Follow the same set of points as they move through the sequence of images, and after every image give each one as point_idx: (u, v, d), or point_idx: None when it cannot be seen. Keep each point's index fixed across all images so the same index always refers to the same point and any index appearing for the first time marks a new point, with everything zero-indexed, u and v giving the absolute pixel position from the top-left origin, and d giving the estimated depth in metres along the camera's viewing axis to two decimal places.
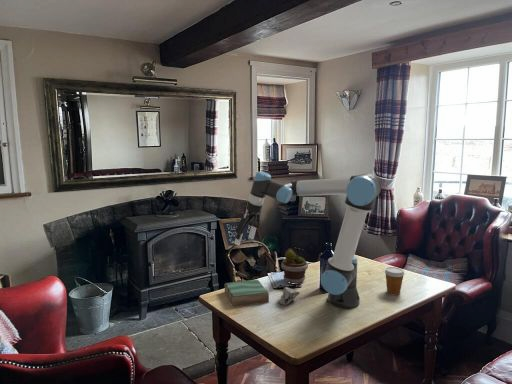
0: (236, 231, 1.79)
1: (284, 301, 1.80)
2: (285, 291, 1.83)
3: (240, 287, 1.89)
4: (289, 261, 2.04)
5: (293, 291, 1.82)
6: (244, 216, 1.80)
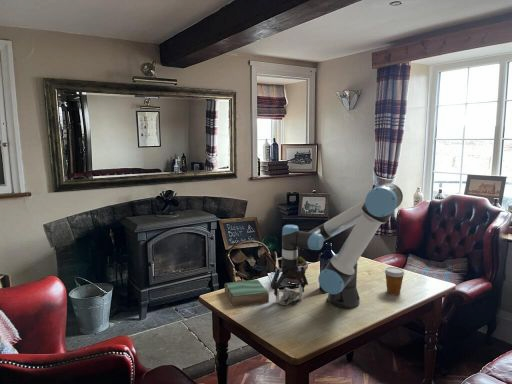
0: (270, 286, 1.81)
1: (284, 302, 1.80)
2: (285, 292, 1.82)
3: (240, 287, 1.89)
4: None
5: (293, 292, 1.81)
6: (276, 271, 1.80)
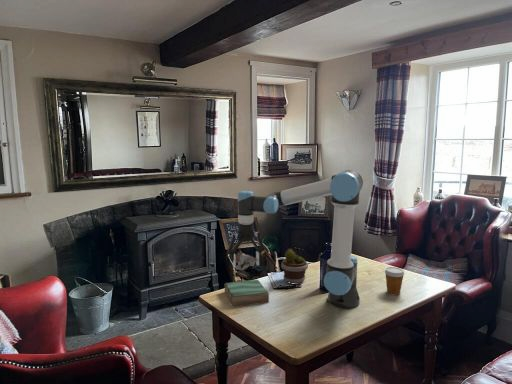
0: (227, 252, 1.84)
1: (240, 266, 1.83)
2: (241, 257, 1.85)
3: (240, 287, 1.89)
4: (289, 261, 2.04)
5: (249, 257, 1.84)
6: (232, 236, 1.83)
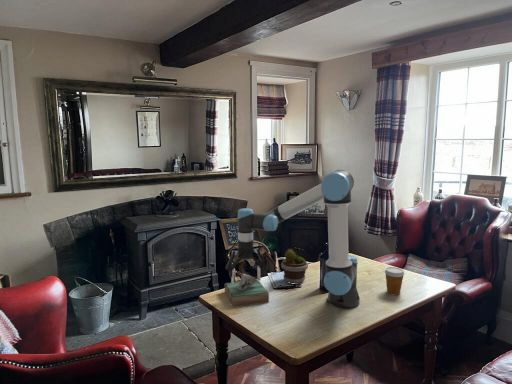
0: None
1: (241, 287, 1.84)
2: (242, 277, 1.86)
3: None
4: (289, 261, 2.04)
5: (250, 277, 1.86)
6: (232, 253, 1.84)
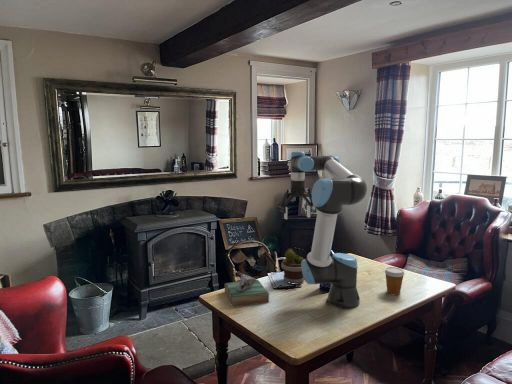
0: None
1: (240, 287, 1.84)
2: (242, 278, 1.86)
3: None
4: (289, 261, 2.04)
5: (249, 278, 1.86)
6: (285, 191, 2.05)
